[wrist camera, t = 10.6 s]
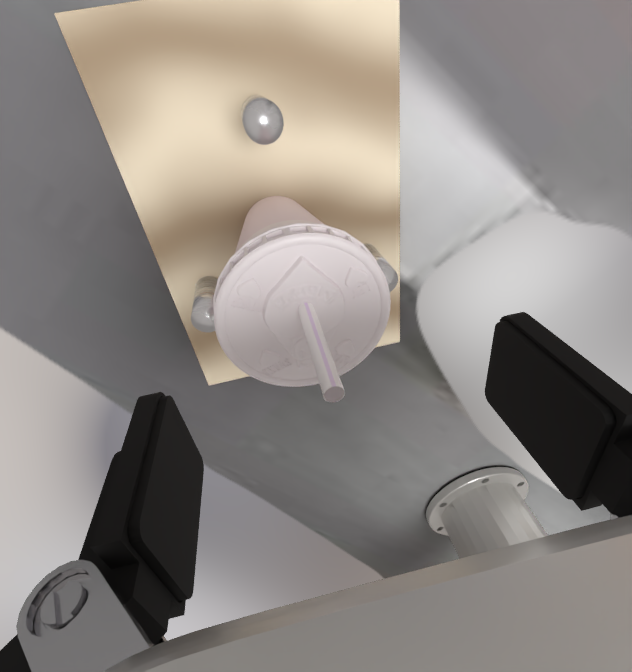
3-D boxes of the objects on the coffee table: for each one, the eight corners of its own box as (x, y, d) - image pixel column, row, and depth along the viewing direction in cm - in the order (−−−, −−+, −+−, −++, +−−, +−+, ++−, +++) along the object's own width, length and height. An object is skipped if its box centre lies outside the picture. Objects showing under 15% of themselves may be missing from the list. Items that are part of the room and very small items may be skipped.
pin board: (392, 330, 29) (419, 372, 24) (209, 372, 27) (206, 422, 23) (387, -30, 17) (436, -63, 13) (67, 18, 16) (12, -2, 12)
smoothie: (332, 164, 20) (475, 284, 8) (333, 275, 23) (432, 464, 12) (207, 173, 19) (175, 322, 7) (228, 287, 22) (229, 503, 11)
